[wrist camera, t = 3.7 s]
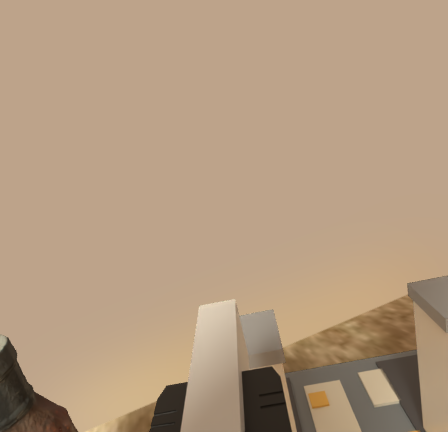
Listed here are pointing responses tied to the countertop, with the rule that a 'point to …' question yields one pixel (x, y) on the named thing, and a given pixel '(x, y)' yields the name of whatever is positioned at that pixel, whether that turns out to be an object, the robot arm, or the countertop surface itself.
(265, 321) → the slider
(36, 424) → the sauce bottle
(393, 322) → the countertop surface
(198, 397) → the robot arm
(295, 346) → the countertop surface
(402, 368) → the console
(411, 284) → the slider
